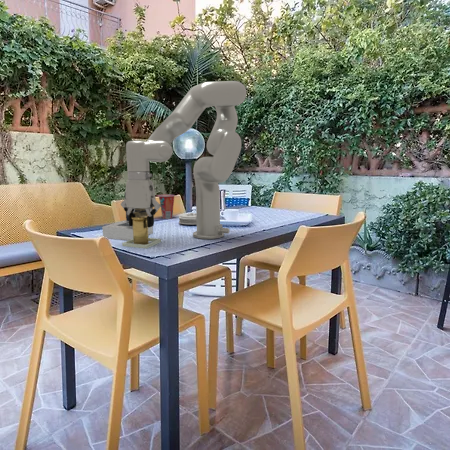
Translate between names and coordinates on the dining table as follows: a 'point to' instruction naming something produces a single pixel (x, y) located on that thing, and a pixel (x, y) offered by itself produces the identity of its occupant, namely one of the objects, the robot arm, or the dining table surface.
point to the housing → (121, 231)
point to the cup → (166, 205)
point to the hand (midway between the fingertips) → (141, 225)
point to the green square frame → (129, 244)
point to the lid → (188, 218)
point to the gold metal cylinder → (140, 230)
